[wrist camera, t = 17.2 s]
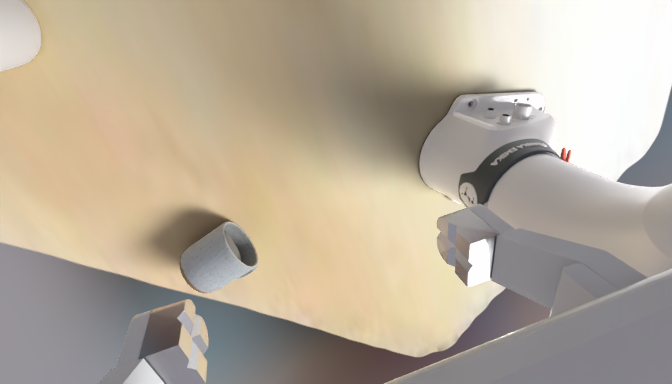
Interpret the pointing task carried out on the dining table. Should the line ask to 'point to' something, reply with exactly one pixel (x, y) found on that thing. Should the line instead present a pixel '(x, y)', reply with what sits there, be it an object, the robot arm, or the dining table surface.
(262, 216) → the dining table surface
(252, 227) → the dining table surface
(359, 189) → the dining table surface
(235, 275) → the ceramic mug
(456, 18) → the dining table surface
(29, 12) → the milk bottle
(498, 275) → the robot arm
